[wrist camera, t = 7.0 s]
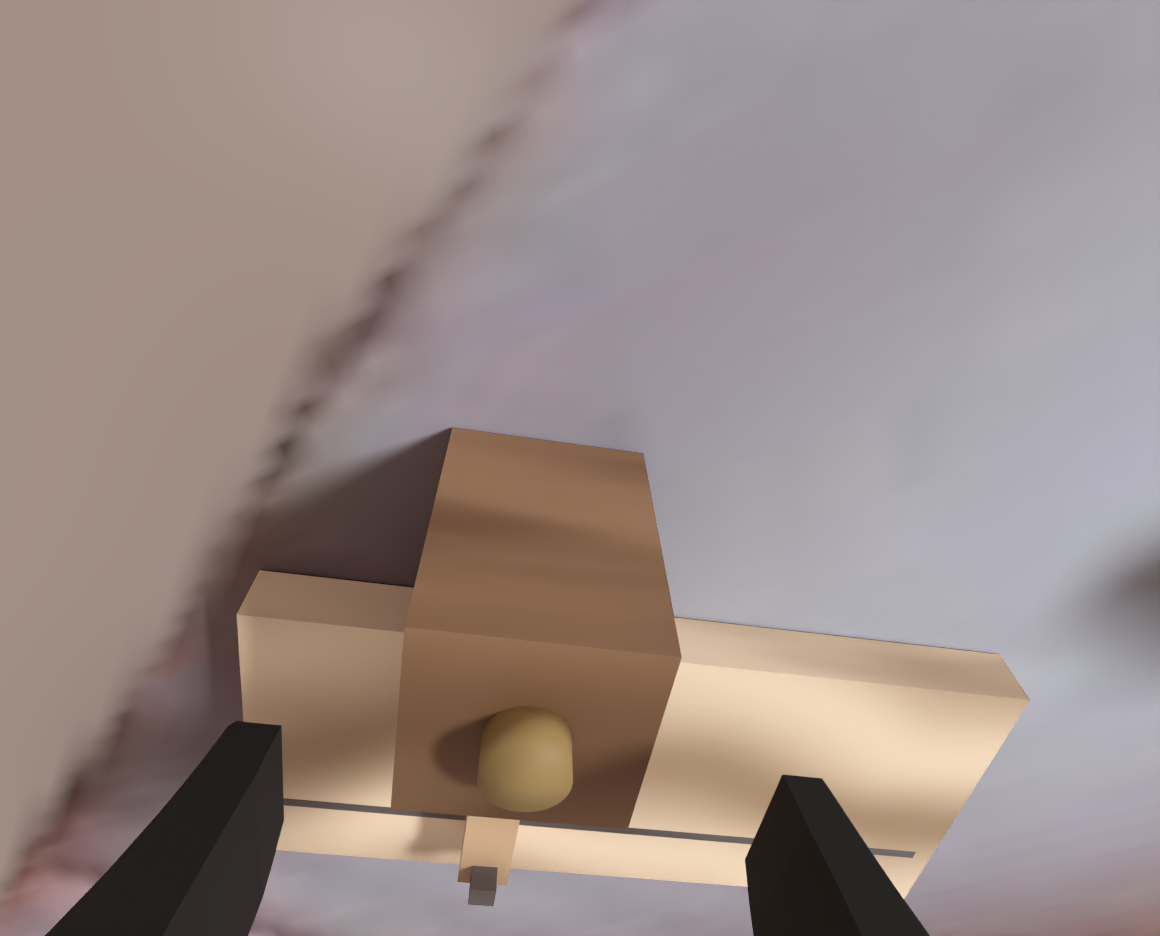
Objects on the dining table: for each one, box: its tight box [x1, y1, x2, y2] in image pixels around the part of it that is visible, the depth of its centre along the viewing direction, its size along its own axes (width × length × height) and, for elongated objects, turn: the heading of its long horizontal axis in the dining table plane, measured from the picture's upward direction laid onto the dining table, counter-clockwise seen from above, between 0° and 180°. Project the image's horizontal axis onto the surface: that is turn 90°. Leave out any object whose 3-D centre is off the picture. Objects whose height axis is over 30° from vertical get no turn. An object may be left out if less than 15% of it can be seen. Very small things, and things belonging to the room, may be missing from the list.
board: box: [237, 570, 1030, 899], centre depth 20 cm, size 8×18×2 cm, turn 80°
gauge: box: [391, 428, 682, 906], centre depth 16 cm, size 11×4×7 cm, turn 170°
